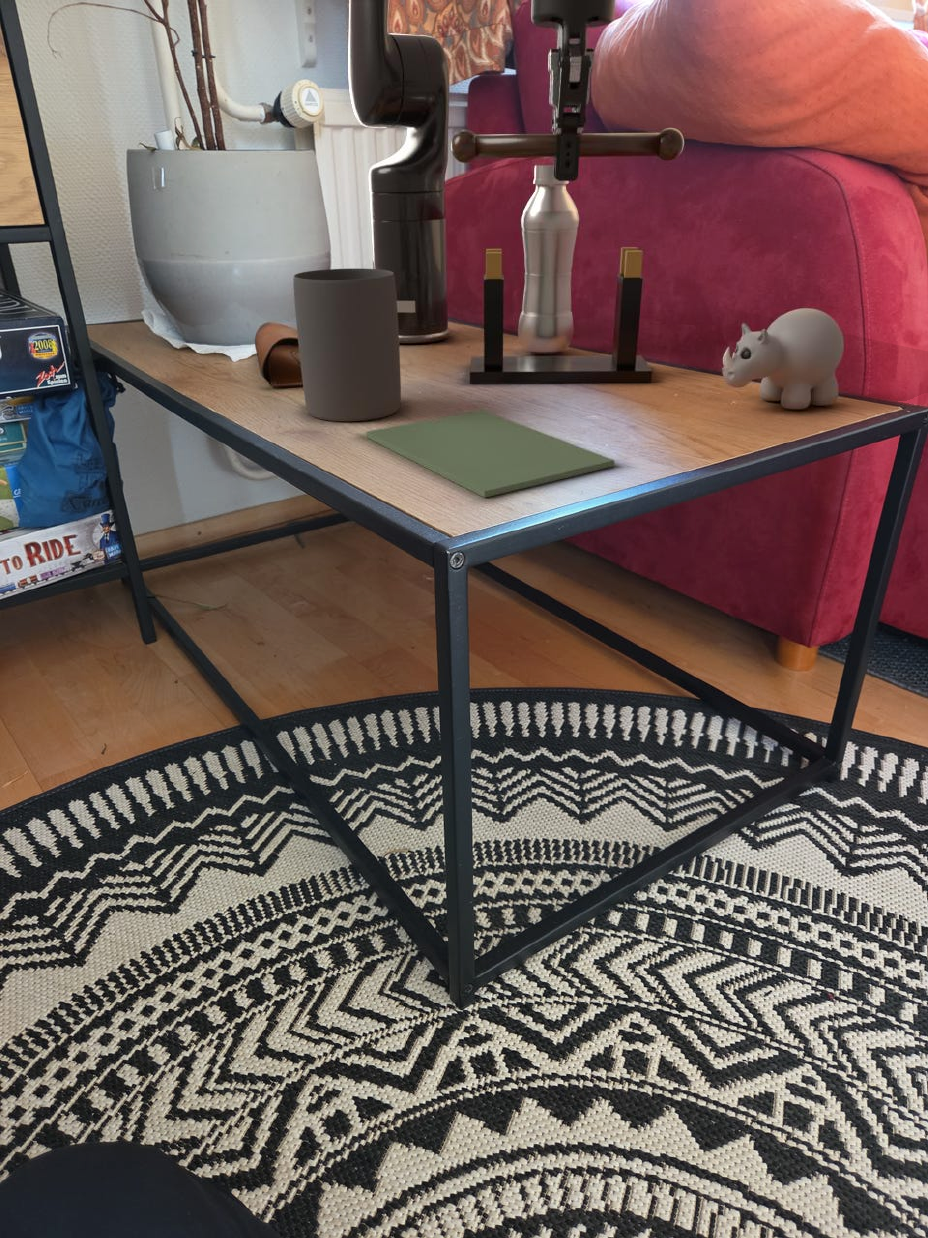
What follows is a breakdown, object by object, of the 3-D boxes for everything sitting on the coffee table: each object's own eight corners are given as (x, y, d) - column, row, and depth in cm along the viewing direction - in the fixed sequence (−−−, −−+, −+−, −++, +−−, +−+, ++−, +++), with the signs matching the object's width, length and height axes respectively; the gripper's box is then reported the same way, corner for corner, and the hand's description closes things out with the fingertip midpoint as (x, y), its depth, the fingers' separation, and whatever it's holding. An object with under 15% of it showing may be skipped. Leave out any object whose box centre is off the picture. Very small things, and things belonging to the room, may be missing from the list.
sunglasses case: (345, 377, 90) (307, 322, 87) (291, 416, 91) (251, 363, 87) (324, 346, 106) (291, 298, 102) (278, 379, 106) (244, 333, 102)
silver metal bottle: (508, 350, 105) (510, 165, 95) (557, 345, 107) (564, 164, 97) (532, 360, 99) (537, 165, 90) (583, 355, 102) (593, 164, 92)
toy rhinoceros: (694, 402, 82) (705, 308, 78) (800, 391, 85) (815, 300, 81) (737, 421, 76) (751, 321, 72) (850, 408, 79) (869, 311, 75)
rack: (471, 366, 97) (470, 247, 91) (640, 366, 96) (650, 245, 90) (469, 383, 90) (468, 254, 84) (651, 382, 89) (663, 252, 83)
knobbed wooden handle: (451, 162, 85) (451, 130, 83) (679, 160, 84) (682, 127, 83) (450, 162, 82) (450, 129, 81) (684, 160, 81) (688, 126, 80)
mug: (410, 417, 78) (404, 277, 72) (310, 426, 76) (295, 282, 70) (385, 384, 90) (378, 261, 84) (297, 391, 88) (284, 265, 82)
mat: (366, 437, 73) (365, 431, 73) (482, 415, 79) (482, 409, 78) (484, 498, 60) (484, 491, 59) (614, 466, 65) (614, 460, 65)
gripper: (529, -26, 82) (525, 178, 90) (535, -56, 70) (529, 183, 78) (608, -28, 81) (596, 177, 90) (628, -58, 69) (612, 182, 78)
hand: (565, 179), depth 84 cm, fingers closed on knobbed wooden handle, 2 cm apart
